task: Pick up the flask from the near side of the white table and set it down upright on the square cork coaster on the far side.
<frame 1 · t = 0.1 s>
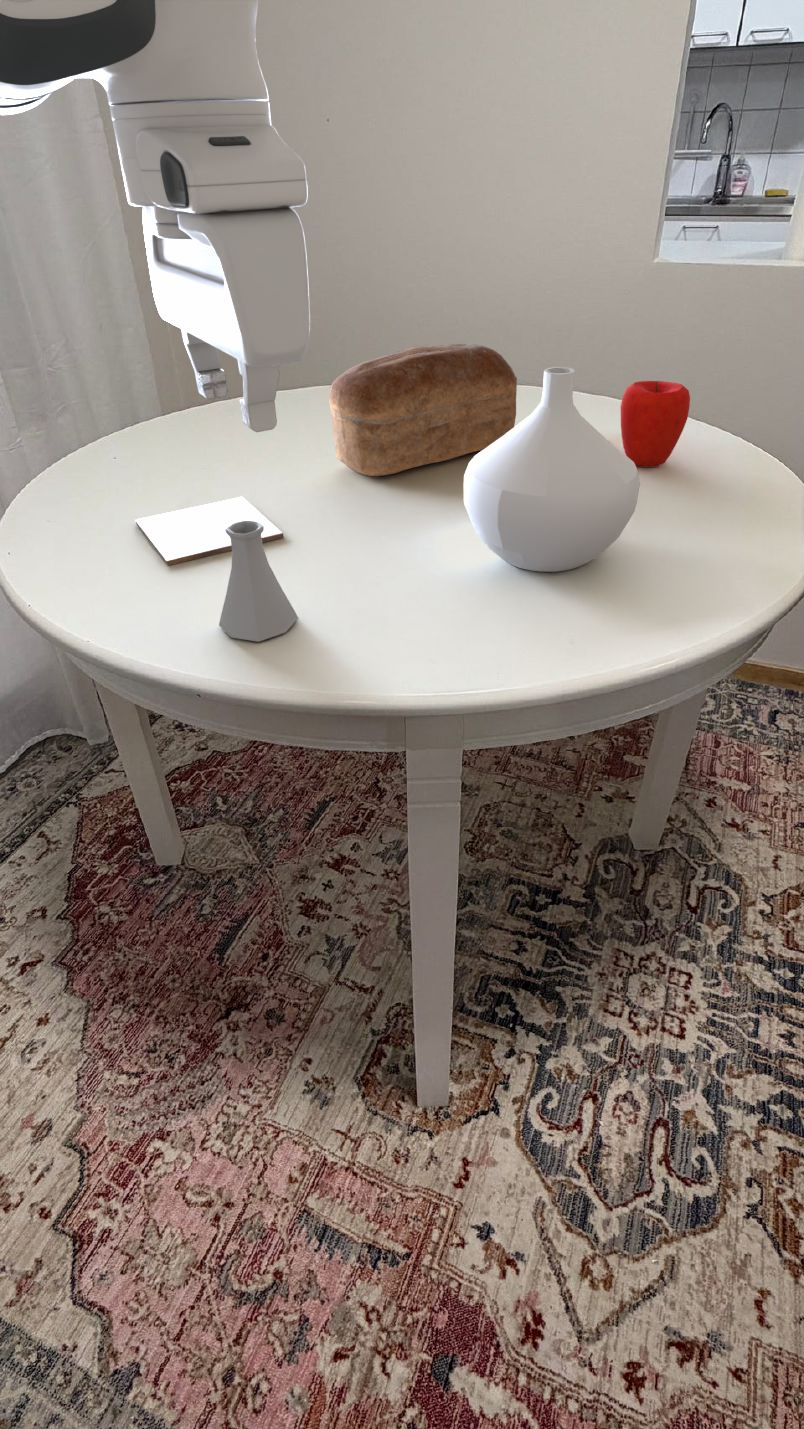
hand: (235, 411, 55), 23 cm above the table, tool pointing down, fingers open, 8 cm apart
flask: (259, 626, 78), on the table
apple: (646, 464, 112), on the table
coaster: (208, 530, 97), on the table
vase: (544, 554, 89), on the table
bread: (426, 457, 117), on the table
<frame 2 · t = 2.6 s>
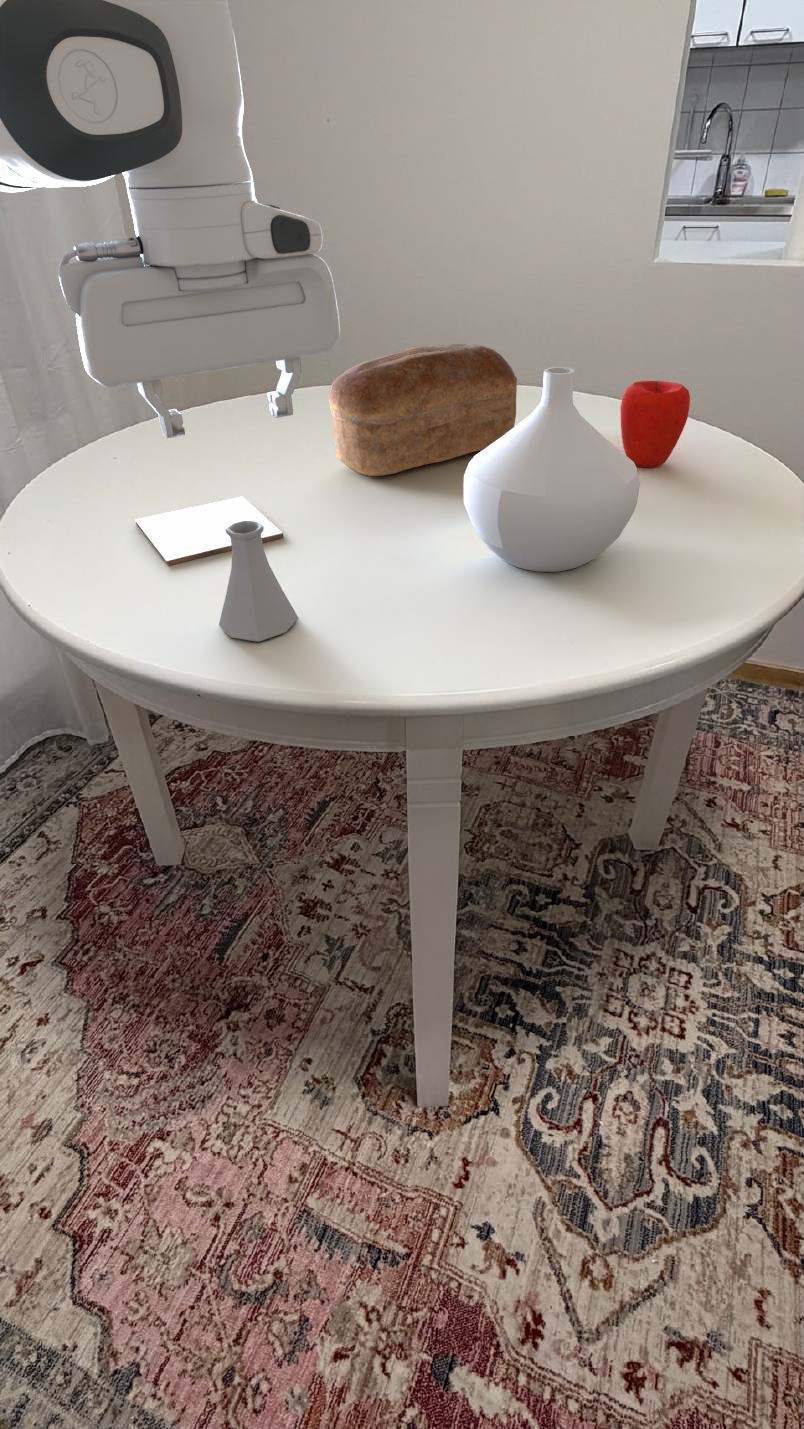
hand: (229, 425, 66), 19 cm above the table, tool pointing down, fingers open, 8 cm apart
nothing on the table moved.
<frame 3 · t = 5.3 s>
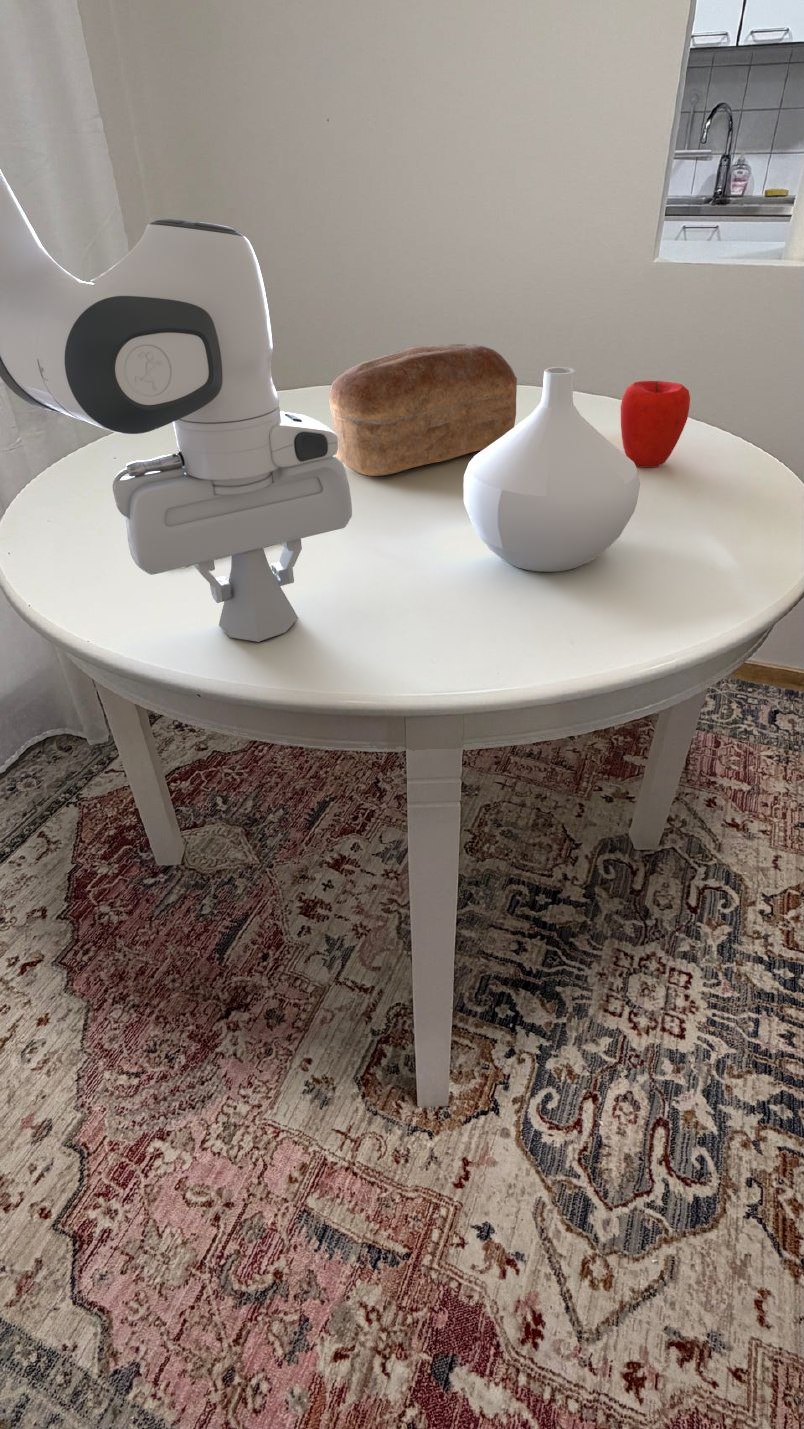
hand: (254, 590, 75), 4 cm above the table, tool pointing down, fingers closed on flask, 5 cm apart
flask: (259, 626, 78), on the table, touching gripper
everything else where it was.
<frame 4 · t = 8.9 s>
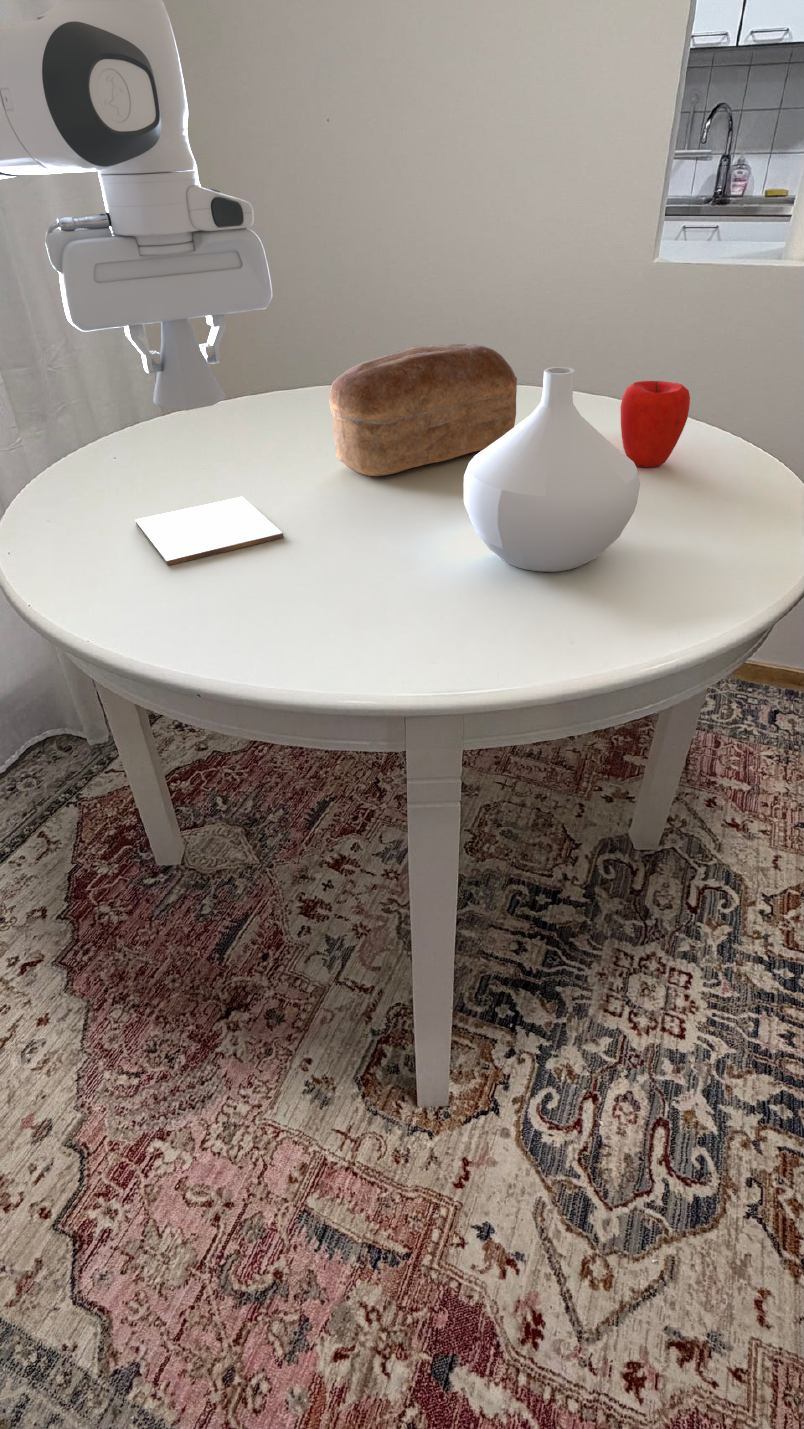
hand: (183, 367, 83), 19 cm above the table, tool pointing down, fingers closed on flask, 5 cm apart
flask: (190, 405, 85), point 15 cm above the table, touching gripper
everything else where it was.
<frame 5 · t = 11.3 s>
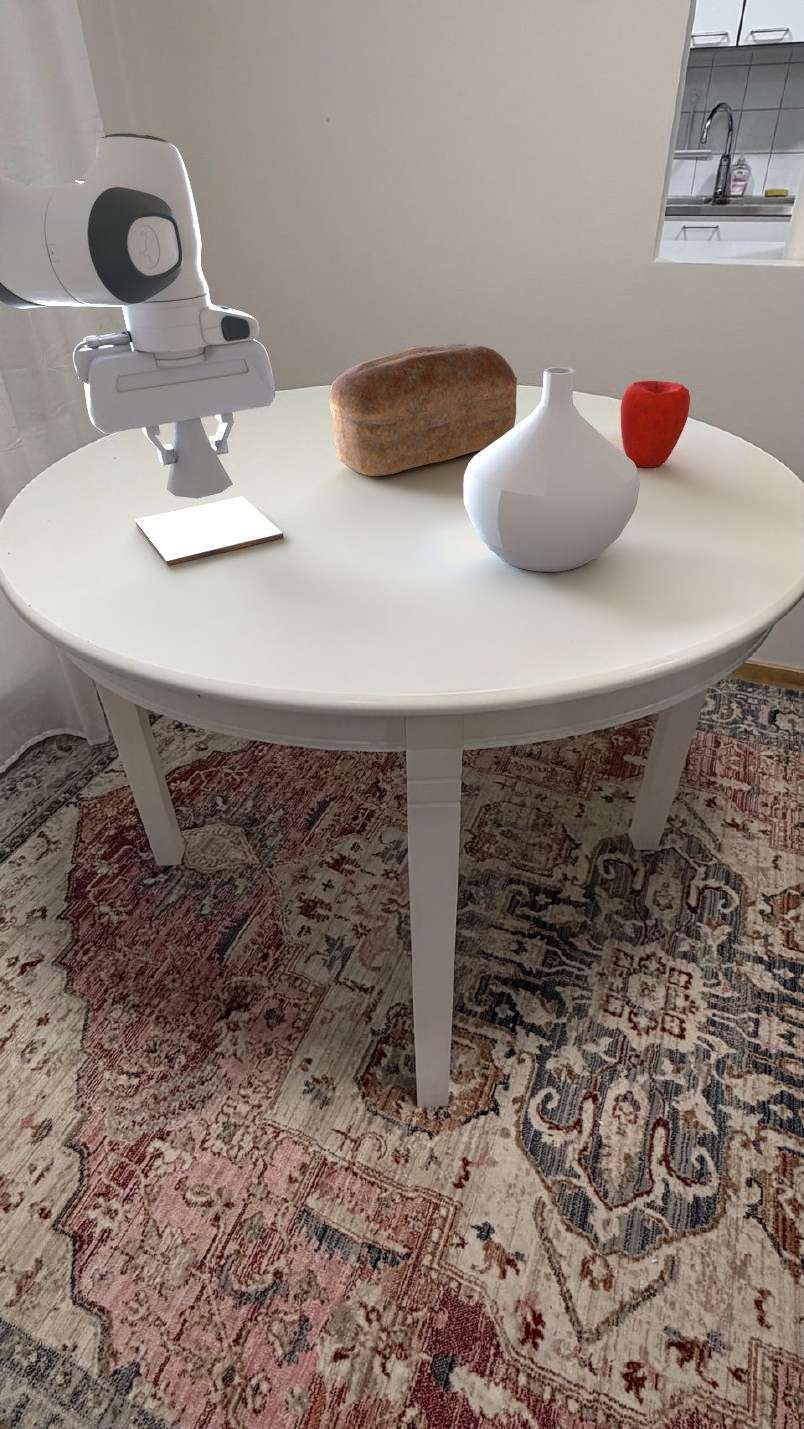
hand: (195, 458, 91), 9 cm above the table, tool pointing down, fingers closed on flask, 5 cm apart
flask: (200, 490, 94), point 5 cm above the table, touching gripper
everything else where it was.
when the fingers open (4 cm above the table, at t = 12.9 s): flask stays where it is, resting on coaster.
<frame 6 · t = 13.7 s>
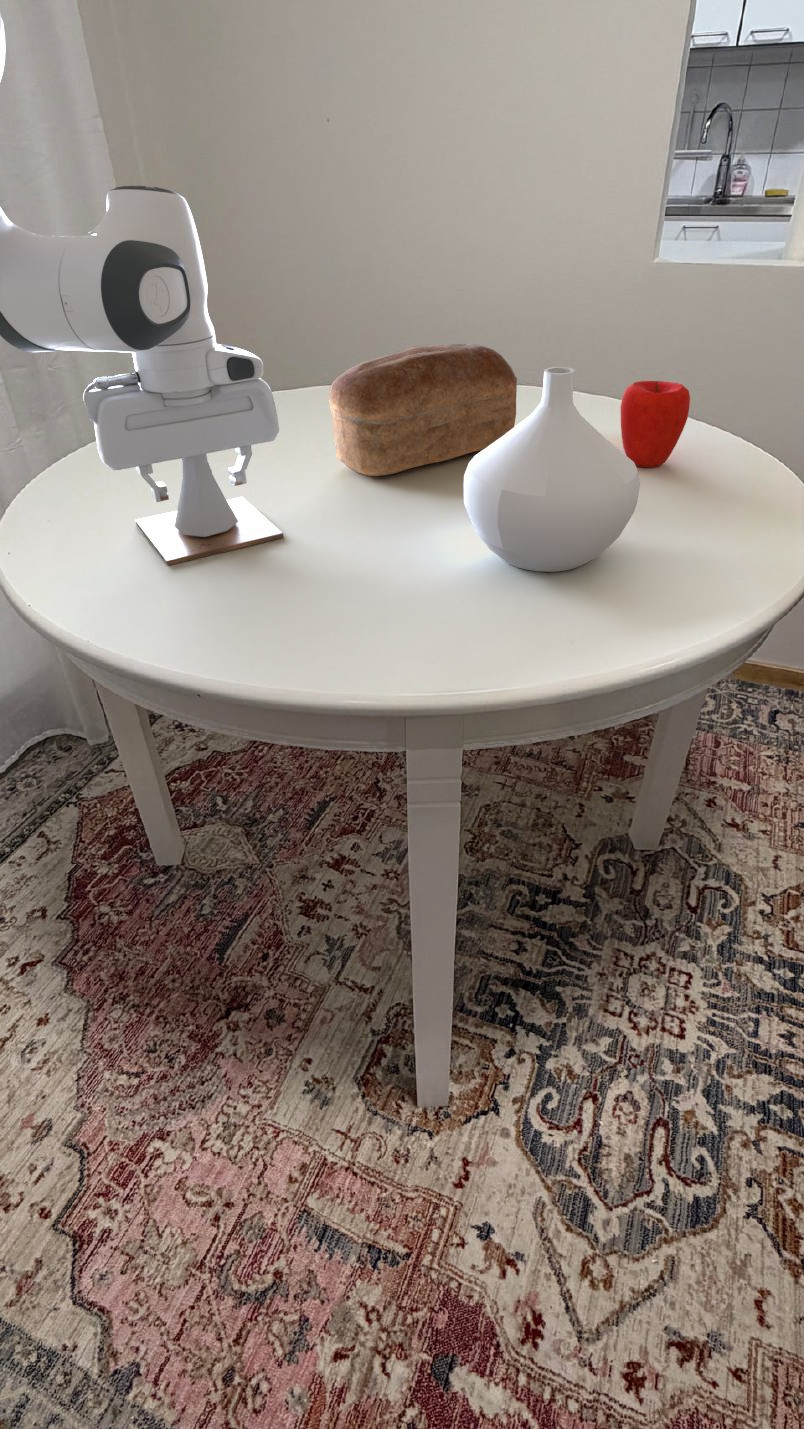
hand: (200, 491, 94), 5 cm above the table, tool pointing down, fingers open, 8 cm apart
flask: (207, 528, 96), resting on coaster
everything else where it was.
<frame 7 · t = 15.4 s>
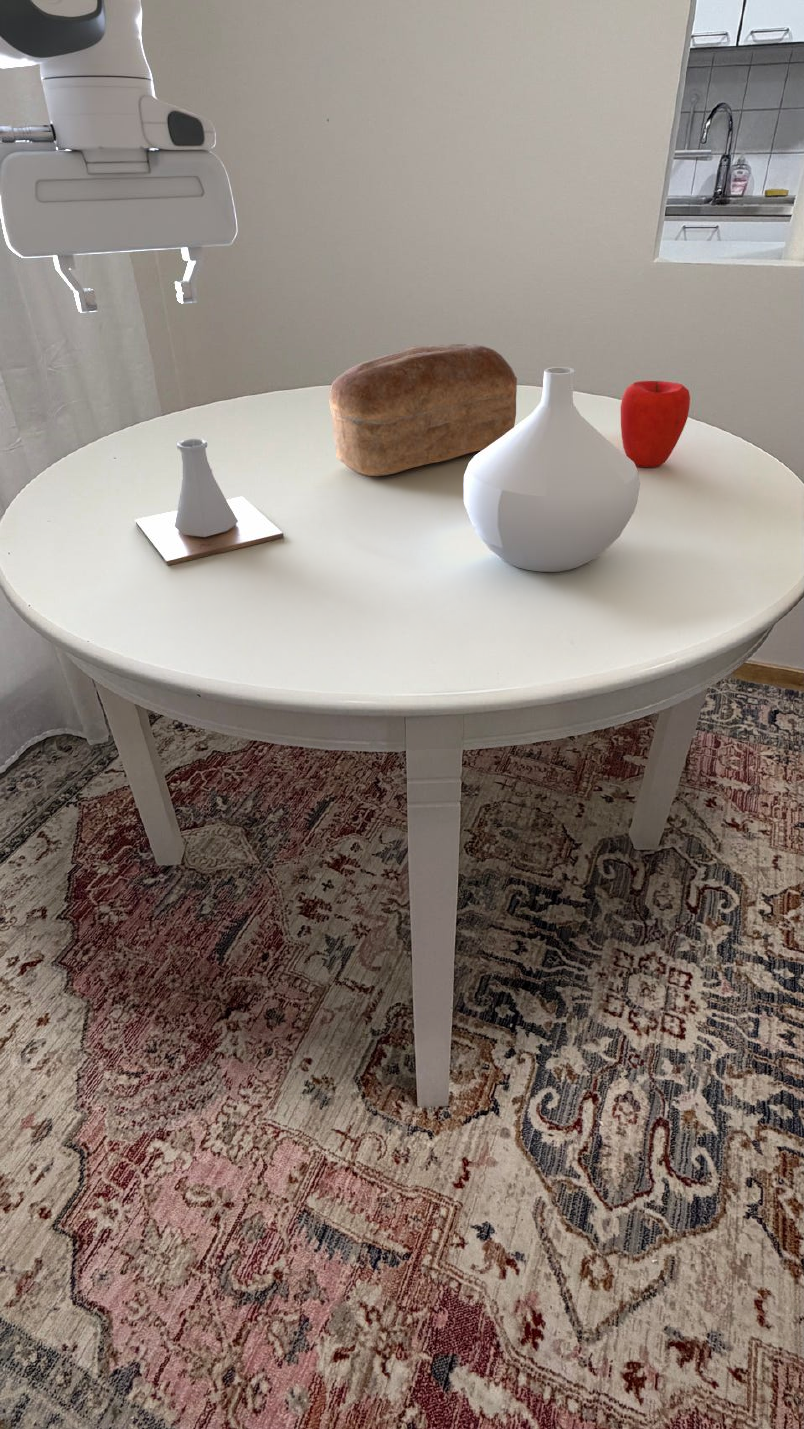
hand: (139, 307, 75), 26 cm above the table, tool pointing down, fingers open, 8 cm apart
nothing on the table moved.
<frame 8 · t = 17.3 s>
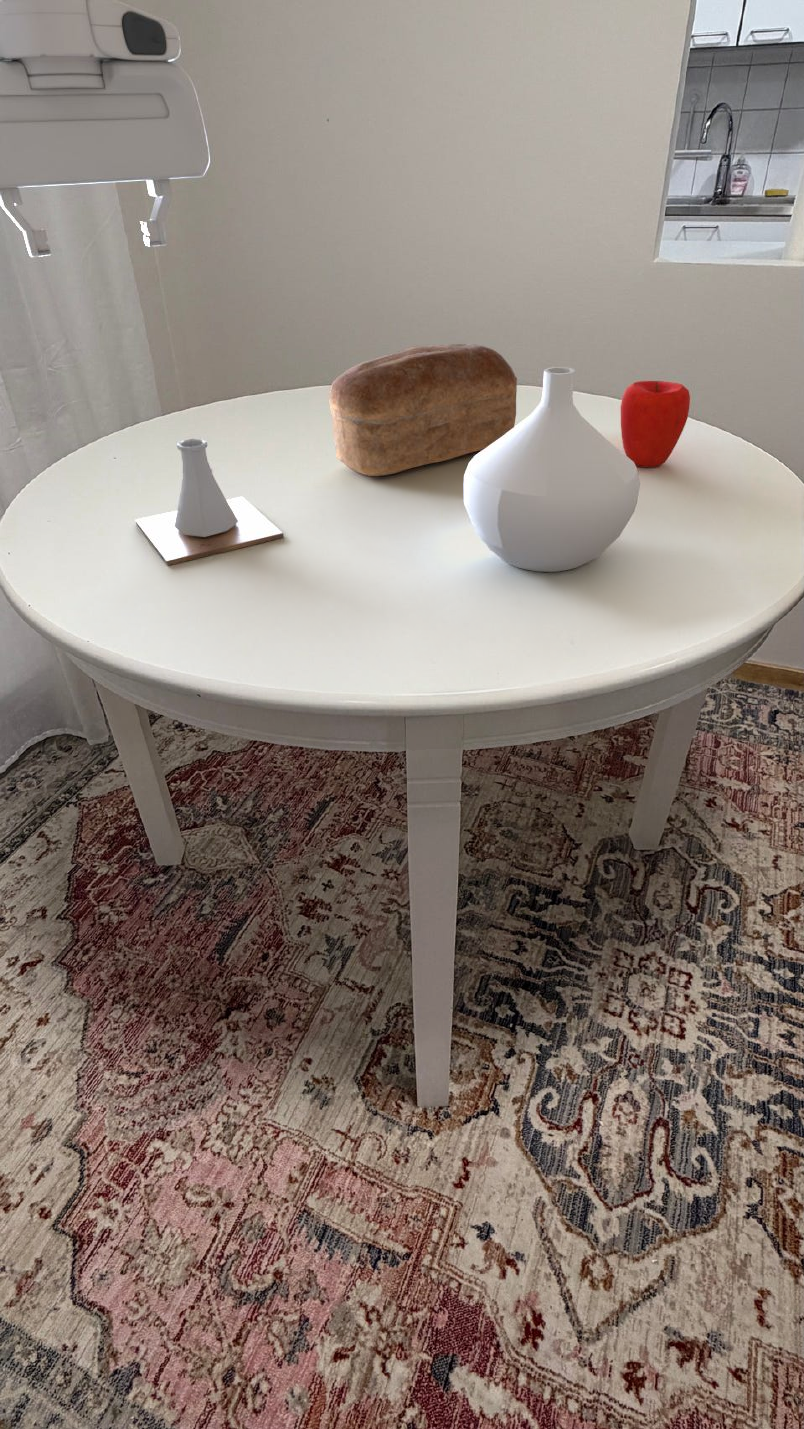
hand: (99, 250, 66), 31 cm above the table, tool pointing down, fingers open, 8 cm apart
nothing on the table moved.
at the end: flask inside the target area on the coaster (0.1 cm from its centre), point 0.4 cm above the coaster's base; flask tilted 0°; the gripper is holding nothing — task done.
